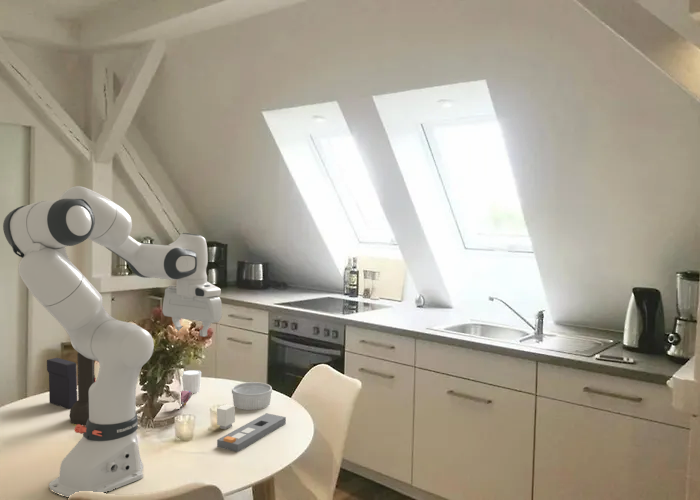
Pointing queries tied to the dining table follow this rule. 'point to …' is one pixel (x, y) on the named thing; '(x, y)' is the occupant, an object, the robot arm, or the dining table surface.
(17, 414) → the dining table surface
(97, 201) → the robot arm
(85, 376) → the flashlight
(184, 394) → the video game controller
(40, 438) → the dining table surface
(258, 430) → the power strip
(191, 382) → the white cup
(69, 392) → the dark blue lidded box
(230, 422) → the charger
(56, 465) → the dining table surface
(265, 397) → the ramekin
